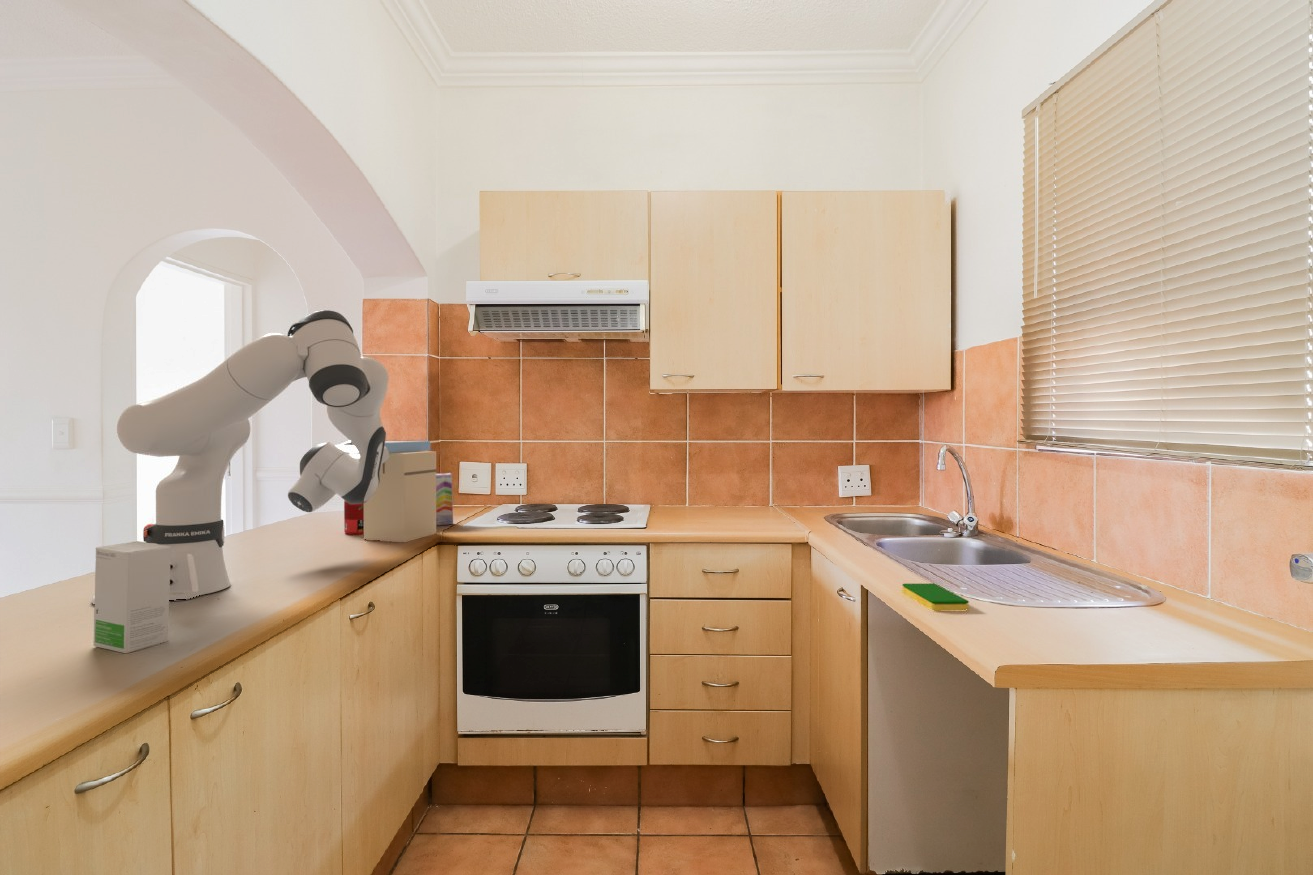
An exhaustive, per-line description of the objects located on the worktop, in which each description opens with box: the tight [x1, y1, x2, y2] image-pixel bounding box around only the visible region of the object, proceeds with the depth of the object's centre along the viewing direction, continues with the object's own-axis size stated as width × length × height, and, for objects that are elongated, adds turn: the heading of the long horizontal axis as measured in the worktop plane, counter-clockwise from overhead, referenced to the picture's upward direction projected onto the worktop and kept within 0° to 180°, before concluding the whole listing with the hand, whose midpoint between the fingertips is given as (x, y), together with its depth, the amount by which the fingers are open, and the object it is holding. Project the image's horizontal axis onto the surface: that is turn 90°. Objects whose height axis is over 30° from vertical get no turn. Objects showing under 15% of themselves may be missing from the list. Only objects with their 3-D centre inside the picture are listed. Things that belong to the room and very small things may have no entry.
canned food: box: [343, 499, 364, 536], centre depth 207 cm, size 8×8×11 cm
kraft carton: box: [363, 450, 437, 543], centre depth 201 cm, size 16×14×26 cm
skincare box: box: [93, 541, 171, 654], centre depth 103 cm, size 8×7×16 cm
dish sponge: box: [901, 582, 970, 612], centre depth 131 cm, size 7×14×2 cm, turn 3°
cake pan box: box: [436, 472, 454, 526], centre depth 223 cm, size 19×5×18 cm, turn 111°
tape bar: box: [385, 440, 431, 453], centre depth 201 cm, size 25×4×3 cm, turn 165°
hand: (368, 441), depth 188 cm, fingers open, 8 cm apart
